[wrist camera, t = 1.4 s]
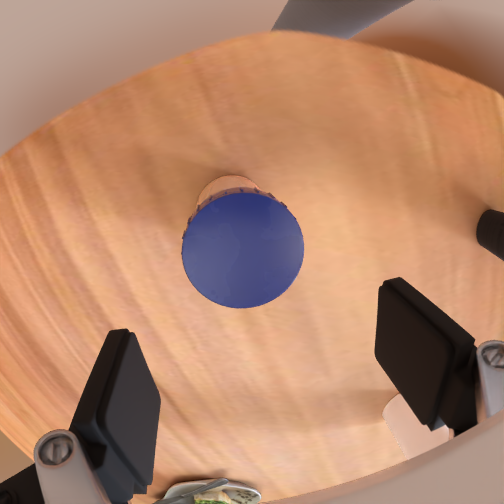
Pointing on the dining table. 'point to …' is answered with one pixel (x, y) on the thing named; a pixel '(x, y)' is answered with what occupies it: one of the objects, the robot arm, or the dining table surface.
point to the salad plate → (211, 493)
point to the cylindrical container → (411, 429)
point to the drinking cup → (492, 232)
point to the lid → (242, 248)
